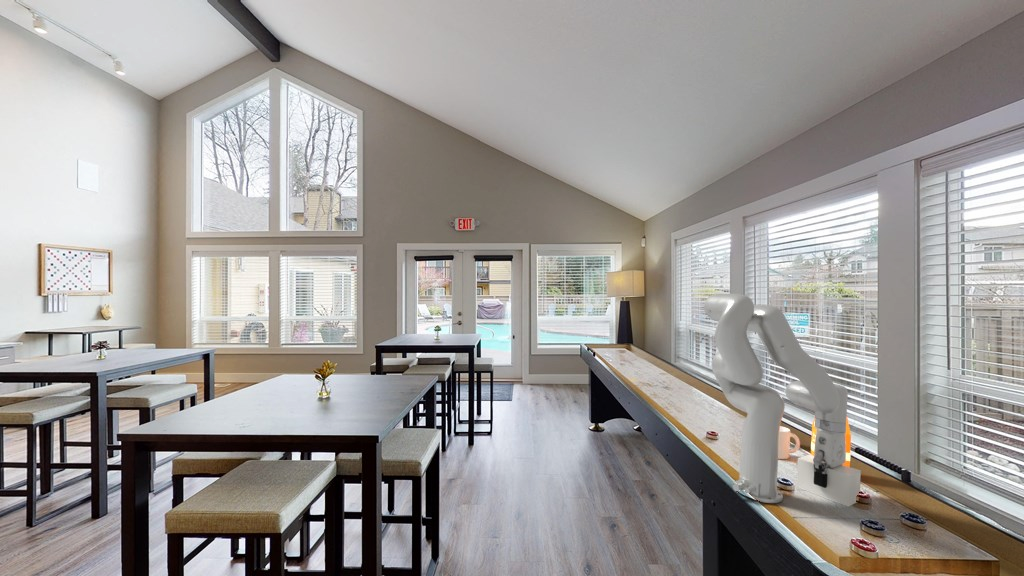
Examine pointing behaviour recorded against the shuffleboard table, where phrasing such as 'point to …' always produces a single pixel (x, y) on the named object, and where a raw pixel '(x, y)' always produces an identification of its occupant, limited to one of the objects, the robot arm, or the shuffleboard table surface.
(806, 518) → the shuffleboard table surface
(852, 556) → the shuffleboard table surface
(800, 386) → the robot arm
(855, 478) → the frosted white brick
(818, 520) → the shuffleboard table surface
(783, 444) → the mug
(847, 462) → the orange juice
